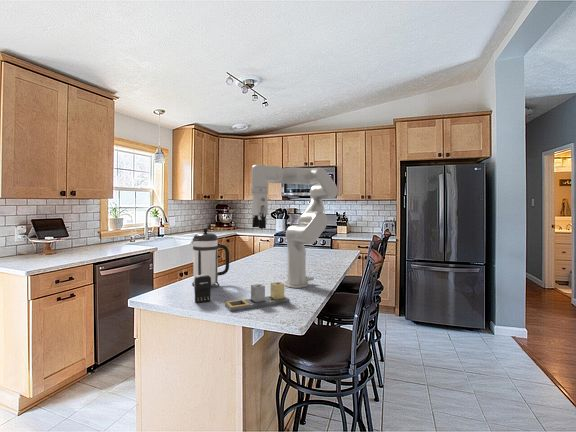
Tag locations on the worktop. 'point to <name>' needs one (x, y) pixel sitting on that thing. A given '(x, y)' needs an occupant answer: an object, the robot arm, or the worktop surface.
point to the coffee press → (208, 256)
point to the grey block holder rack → (249, 305)
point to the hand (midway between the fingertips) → (258, 227)
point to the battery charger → (202, 288)
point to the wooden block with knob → (277, 291)
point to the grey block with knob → (257, 293)
